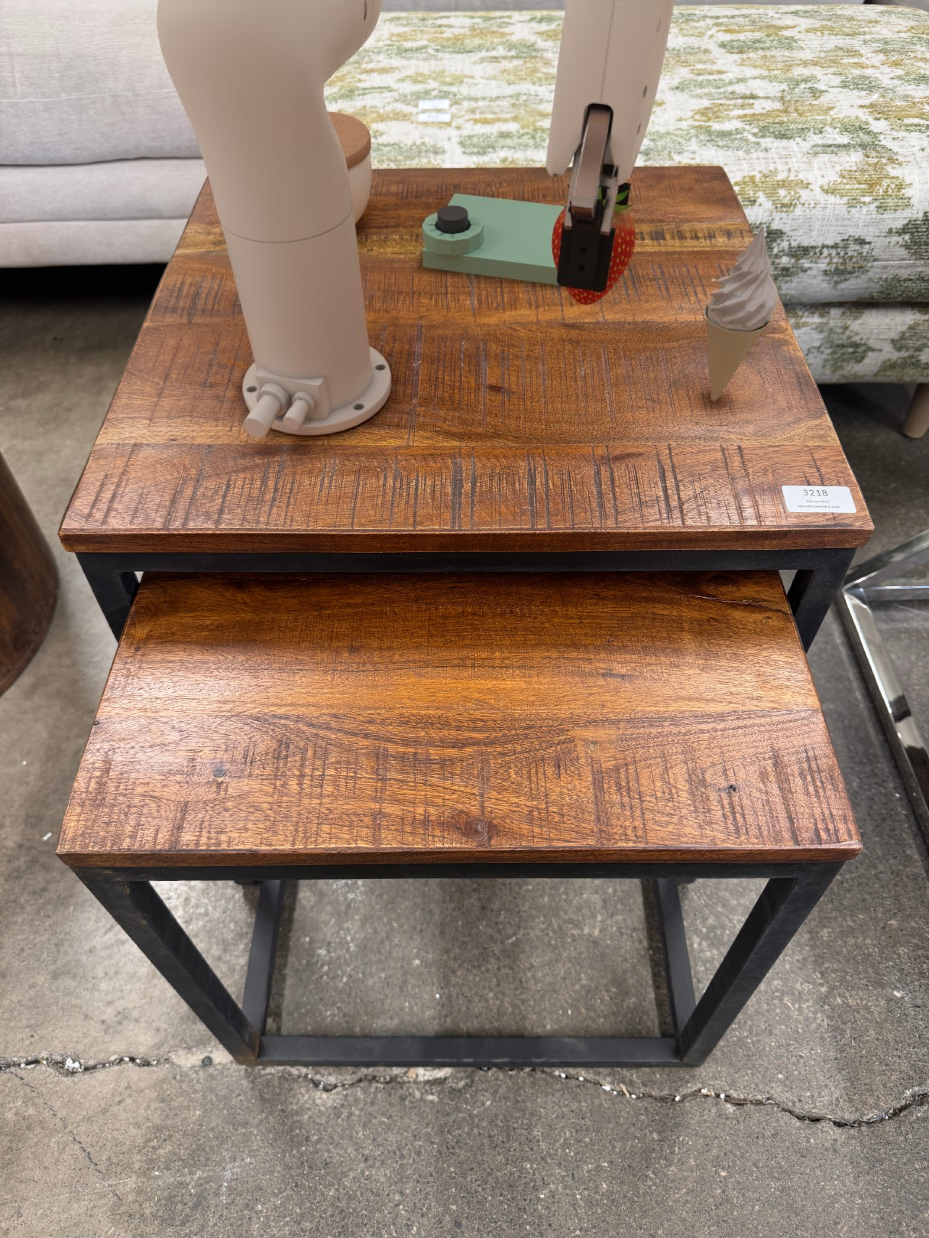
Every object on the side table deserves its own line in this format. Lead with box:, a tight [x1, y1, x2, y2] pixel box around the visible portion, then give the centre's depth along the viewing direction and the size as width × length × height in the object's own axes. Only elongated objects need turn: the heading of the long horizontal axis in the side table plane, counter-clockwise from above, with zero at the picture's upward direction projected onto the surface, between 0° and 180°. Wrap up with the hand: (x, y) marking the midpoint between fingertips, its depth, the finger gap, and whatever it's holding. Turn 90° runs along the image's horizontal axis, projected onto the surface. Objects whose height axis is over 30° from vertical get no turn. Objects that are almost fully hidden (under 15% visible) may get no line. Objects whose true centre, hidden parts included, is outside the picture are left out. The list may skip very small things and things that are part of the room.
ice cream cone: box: [703, 225, 779, 402], centre depth 65 cm, size 5×5×15 cm
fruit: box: [551, 183, 637, 306], centre depth 55 cm, size 5×5×8 cm
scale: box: [421, 193, 565, 286], centre depth 86 cm, size 12×14×4 cm
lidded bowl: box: [327, 110, 373, 225], centre depth 85 cm, size 13×13×11 cm
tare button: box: [436, 205, 468, 234], centre depth 83 cm, size 3×3×2 cm
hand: (590, 260), depth 56 cm, fingers closed on fruit, 5 cm apart
